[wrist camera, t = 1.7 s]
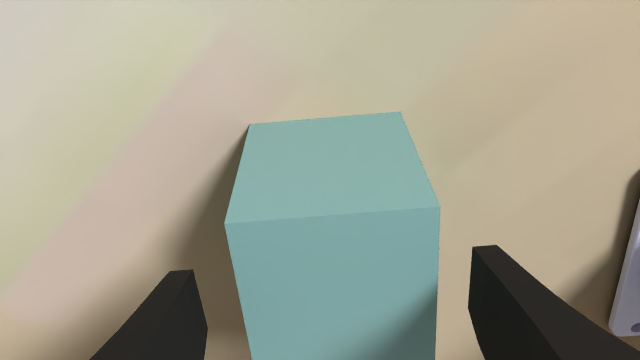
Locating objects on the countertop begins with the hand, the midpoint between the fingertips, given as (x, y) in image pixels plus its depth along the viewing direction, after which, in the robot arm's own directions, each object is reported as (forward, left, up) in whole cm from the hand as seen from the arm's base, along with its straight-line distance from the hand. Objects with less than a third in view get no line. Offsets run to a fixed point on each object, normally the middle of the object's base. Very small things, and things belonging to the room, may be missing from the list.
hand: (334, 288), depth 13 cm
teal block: (0, 0, -6) cm, 6 cm away
